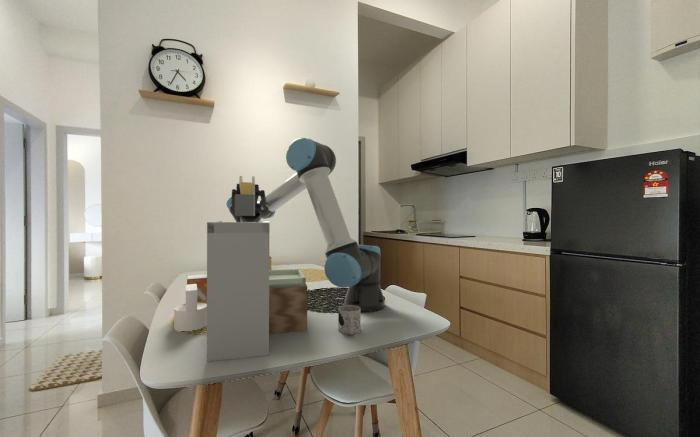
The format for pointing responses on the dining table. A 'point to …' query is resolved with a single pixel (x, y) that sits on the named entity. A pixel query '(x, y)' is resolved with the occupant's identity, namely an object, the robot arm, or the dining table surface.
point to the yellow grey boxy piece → (245, 201)
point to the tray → (286, 278)
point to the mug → (349, 319)
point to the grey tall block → (237, 290)
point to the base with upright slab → (190, 312)
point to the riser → (287, 309)
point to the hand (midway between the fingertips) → (246, 179)
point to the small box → (199, 286)
